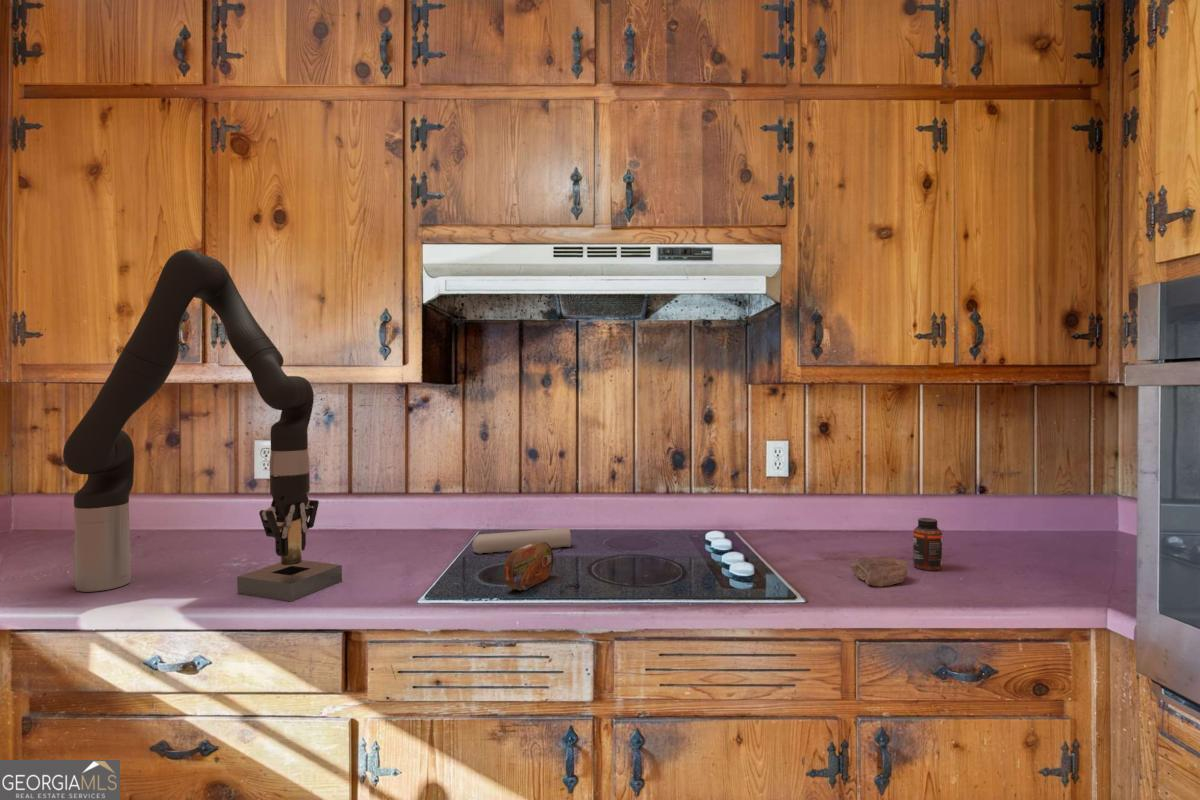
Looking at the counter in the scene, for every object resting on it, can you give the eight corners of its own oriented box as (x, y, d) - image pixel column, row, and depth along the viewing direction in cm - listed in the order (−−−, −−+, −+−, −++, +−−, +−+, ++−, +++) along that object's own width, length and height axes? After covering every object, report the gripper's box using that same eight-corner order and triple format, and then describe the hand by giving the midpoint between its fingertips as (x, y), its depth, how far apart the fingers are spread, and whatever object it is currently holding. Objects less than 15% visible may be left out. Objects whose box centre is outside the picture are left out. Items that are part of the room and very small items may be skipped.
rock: (869, 589, 136) (870, 566, 135) (842, 575, 145) (842, 554, 145) (918, 585, 138) (919, 563, 138) (888, 572, 148) (888, 551, 148)
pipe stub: (276, 564, 135) (275, 521, 135) (291, 559, 139) (291, 517, 139) (291, 565, 134) (290, 522, 134) (306, 560, 138) (305, 518, 137)
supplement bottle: (947, 569, 149) (948, 520, 149) (932, 573, 146) (932, 523, 146) (922, 563, 155) (923, 515, 154) (907, 566, 152) (908, 518, 151)
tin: (513, 596, 131) (513, 554, 131) (501, 593, 133) (501, 552, 132) (554, 576, 144) (554, 538, 144) (543, 574, 146) (542, 537, 145)
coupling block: (237, 593, 132) (237, 576, 132) (291, 574, 145) (291, 558, 145) (290, 601, 127) (290, 583, 127) (341, 581, 141) (341, 565, 140)
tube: (473, 541, 160) (571, 534, 167) (471, 530, 165) (567, 523, 172) (472, 560, 162) (570, 551, 169) (470, 548, 167) (565, 540, 174)
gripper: (302, 466, 144) (303, 543, 144) (247, 475, 130) (248, 560, 131) (329, 468, 141) (330, 546, 142) (275, 477, 128) (277, 563, 128)
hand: (290, 552), depth 136 cm, fingers closed on pipe stub, 4 cm apart
